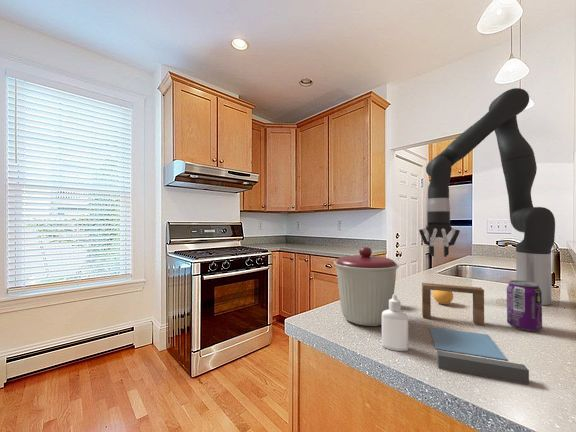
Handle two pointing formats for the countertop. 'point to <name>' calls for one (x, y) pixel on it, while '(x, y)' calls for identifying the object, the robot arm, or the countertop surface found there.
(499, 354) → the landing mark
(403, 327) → the eye dropper bottle
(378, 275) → the canister
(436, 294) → the ball
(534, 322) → the beverage can
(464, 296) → the countertop surface
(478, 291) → the bridge
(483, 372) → the stopper wall
